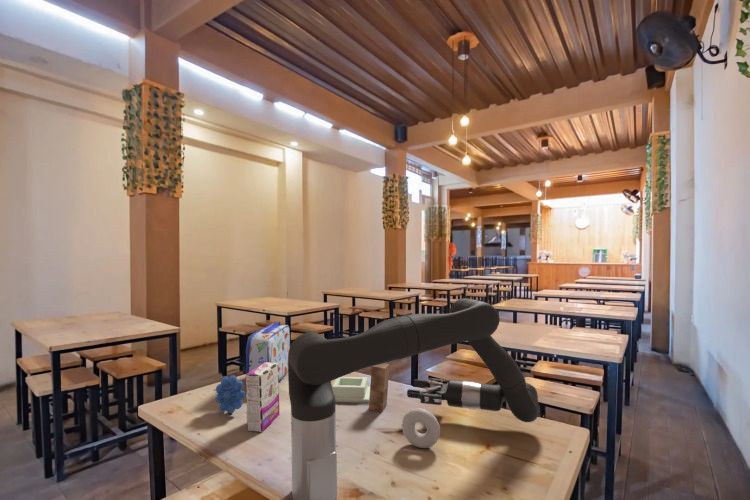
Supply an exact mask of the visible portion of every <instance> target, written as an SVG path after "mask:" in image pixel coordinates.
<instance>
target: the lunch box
mask: <svg viewBox="0 0 750 500" xmlns="http://www.w3.org/2000/svg"><path fill="white" fill-rule="evenodd" d="M290 331H291V330H290V326H289V325H288V324H281V321H275V322H273V323H271V324H268V325H267V326H264V327H262V328H261V329H258V330H256V331H255V332H253V333H251V334H250V336H249V337H248V339H247V342H246V345H245V346H246V348H245V356H246V357H245V362H246V363H245V366H246V367H245V368H246V369H245V375H246V374H247V373H249V372H250V371H252V370H254V369H255V368H257V367H258V366H260V365H261V364H263V363H264V362H273V363H278V378H279V382H281V381H282V380H283V378H284V377H285V376H286V375H287V374H288V353H289V349H290V346H291V332H290ZM244 379H245V381H244V382H245V385H246V377H245V378H244Z"/></svg>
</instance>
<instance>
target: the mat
mask: <svg viewBox="0 0 750 500" xmlns="http://www.w3.org/2000/svg"><path fill="white" fill-rule="evenodd" d="M331 386H333V384H331ZM335 405H338V406H339V405H341V406H342V405H343V406H369V403H365V402H335Z"/></svg>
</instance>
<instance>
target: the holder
mask: <svg viewBox="0 0 750 500" xmlns="http://www.w3.org/2000/svg"><path fill="white" fill-rule="evenodd" d="M368 378H369V377H367V376H366V377H365V376H364V377H362V376H342V377H340V378H337V379H335V380H334V382H333V384H332V390H333V393H334V396H335V402H365V403H369V399H370V385H368V384H369V383H368Z"/></svg>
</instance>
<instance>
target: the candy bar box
mask: <svg viewBox="0 0 750 500" xmlns="http://www.w3.org/2000/svg"><path fill="white" fill-rule="evenodd" d="M245 378H246V384H245V397H246V427H247V428H246V429H247V430H246V431H247V432H251V433H253V432H255V433H263V432H264V431H265V430H267V428H268V427H269V426H271V424H272V423H273V422H274V421H275V420H276V419H277V418H278V417H279V416H280V415H281V413H280V381H279V378H278V363H273V362H264V363H263V364H261V365H260V366H258V367H257V368H255V369H254V370H252V371H250V372H249V373H247V374H246V373H245Z"/></svg>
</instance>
